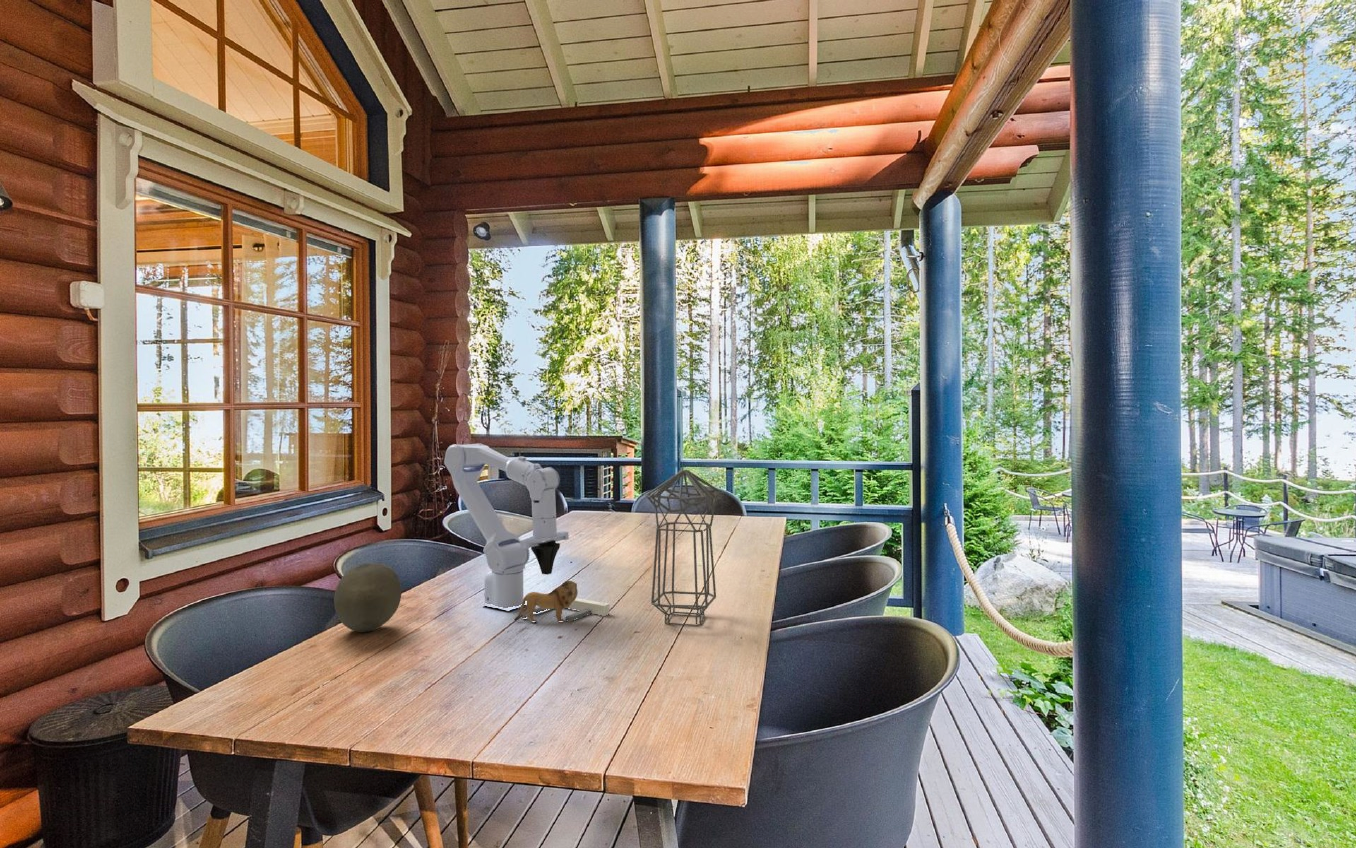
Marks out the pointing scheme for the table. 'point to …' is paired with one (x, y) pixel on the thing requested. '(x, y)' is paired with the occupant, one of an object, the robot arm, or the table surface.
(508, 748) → the table surface
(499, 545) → the robot arm
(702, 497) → the geometric lantern
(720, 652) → the table surface
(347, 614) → the cantaloupe
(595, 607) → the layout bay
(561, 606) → the lion figurine
